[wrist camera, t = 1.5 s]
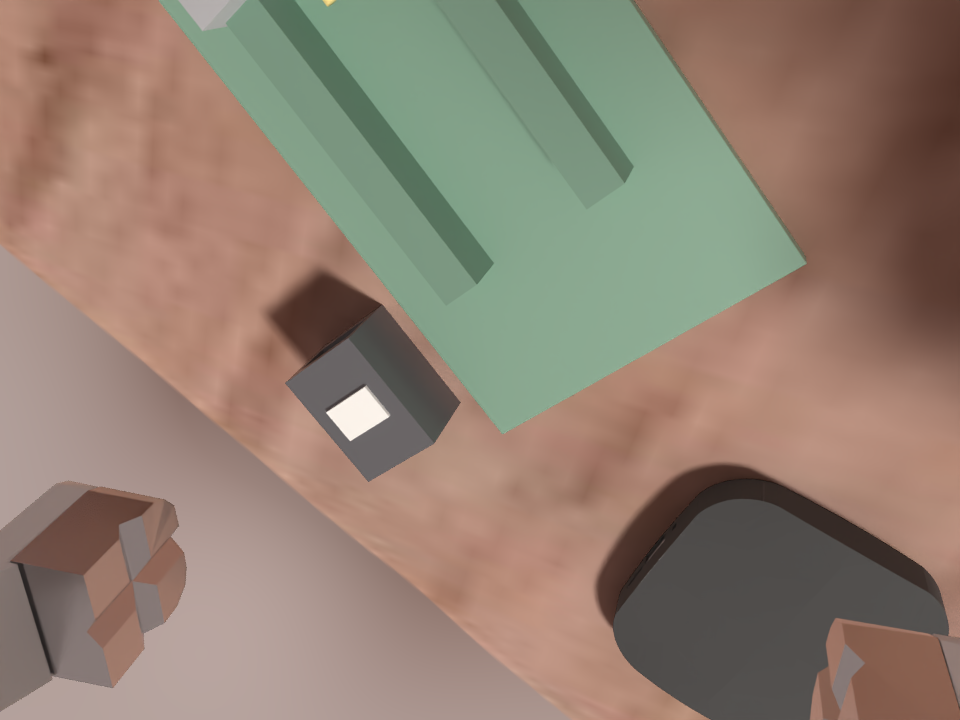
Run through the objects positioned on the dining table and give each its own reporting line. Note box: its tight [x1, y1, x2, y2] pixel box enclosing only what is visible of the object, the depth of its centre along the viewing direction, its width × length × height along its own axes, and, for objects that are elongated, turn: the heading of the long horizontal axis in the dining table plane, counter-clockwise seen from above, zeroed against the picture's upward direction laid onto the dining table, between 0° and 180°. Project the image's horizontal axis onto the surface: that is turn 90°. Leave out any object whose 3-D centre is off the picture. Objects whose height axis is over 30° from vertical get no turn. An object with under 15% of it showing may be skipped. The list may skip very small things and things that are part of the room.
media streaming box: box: [613, 479, 949, 720], centre depth 47 cm, size 15×15×3 cm
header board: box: [159, 0, 807, 434], centre depth 38 cm, size 28×18×6 cm, turn 39°
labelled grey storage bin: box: [285, 305, 461, 482], centre depth 47 cm, size 7×5×5 cm
